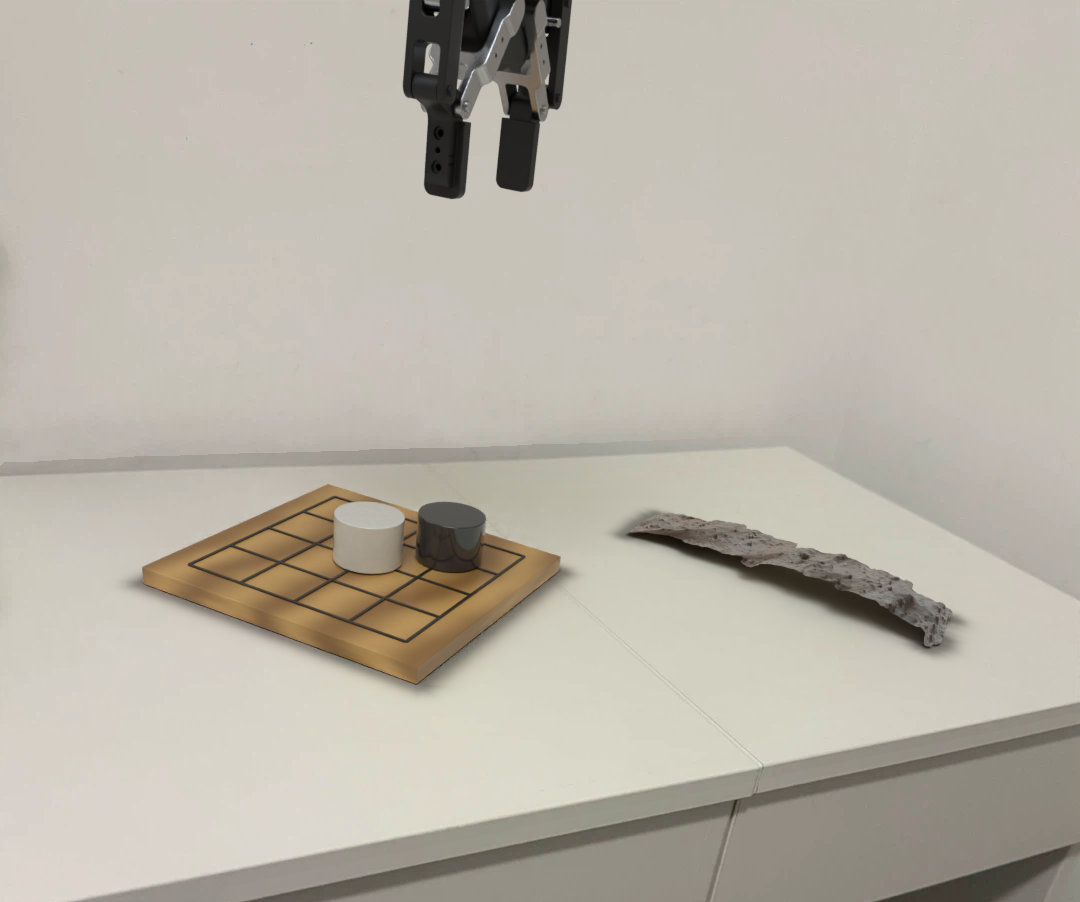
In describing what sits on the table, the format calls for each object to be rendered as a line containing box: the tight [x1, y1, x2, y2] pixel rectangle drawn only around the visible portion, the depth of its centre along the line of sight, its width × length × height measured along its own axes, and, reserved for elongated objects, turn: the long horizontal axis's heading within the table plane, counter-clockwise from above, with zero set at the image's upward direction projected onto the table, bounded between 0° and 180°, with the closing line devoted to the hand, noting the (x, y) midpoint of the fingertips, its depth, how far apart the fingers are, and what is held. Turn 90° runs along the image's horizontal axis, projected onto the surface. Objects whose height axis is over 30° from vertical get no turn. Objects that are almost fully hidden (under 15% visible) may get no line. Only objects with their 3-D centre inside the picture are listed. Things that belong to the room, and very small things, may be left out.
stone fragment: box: [626, 512, 954, 648], centre depth 80 cm, size 25×3×10 cm
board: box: [141, 483, 562, 685], centre depth 71 cm, size 20×20×1 cm
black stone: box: [415, 501, 487, 572], centre depth 72 cm, size 5×5×3 cm
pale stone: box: [333, 502, 405, 574], centre depth 70 cm, size 5×5×3 cm
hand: (480, 193), depth 61 cm, fingers open, 8 cm apart
